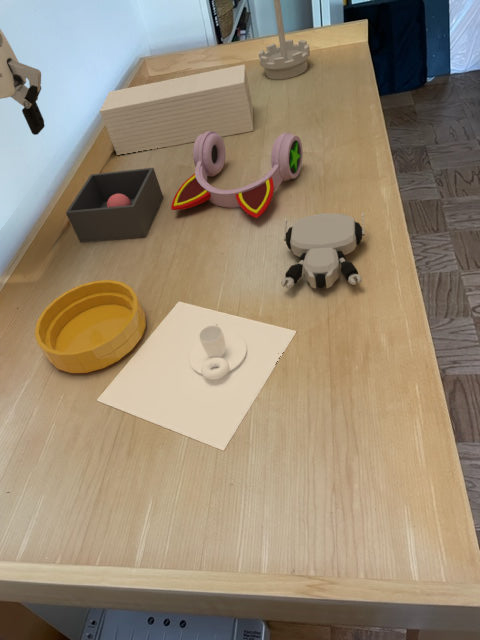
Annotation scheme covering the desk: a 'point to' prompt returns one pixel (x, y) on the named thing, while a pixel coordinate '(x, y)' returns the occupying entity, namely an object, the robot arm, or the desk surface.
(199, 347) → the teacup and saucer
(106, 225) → the bin
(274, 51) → the flag stand
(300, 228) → the robot toy
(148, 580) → the desk surface
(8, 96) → the robot arm
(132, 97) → the stack of papers
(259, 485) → the desk surface
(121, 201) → the toy ball
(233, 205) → the headphones
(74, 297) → the bowl
